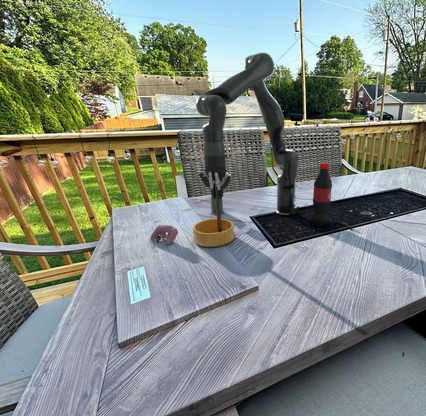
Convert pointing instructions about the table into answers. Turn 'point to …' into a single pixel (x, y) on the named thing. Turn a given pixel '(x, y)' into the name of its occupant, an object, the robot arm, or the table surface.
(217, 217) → the stick
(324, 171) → the cola bottle
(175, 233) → the video game controller
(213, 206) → the holder
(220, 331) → the table surface
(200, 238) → the bowl
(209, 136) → the robot arm
